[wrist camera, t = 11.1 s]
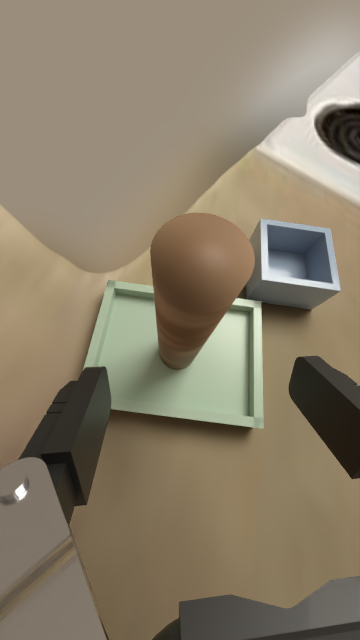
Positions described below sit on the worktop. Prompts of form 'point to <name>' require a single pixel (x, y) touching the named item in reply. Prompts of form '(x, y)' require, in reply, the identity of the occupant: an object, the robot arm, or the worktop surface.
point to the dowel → (195, 281)
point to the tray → (184, 384)
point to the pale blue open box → (292, 265)
